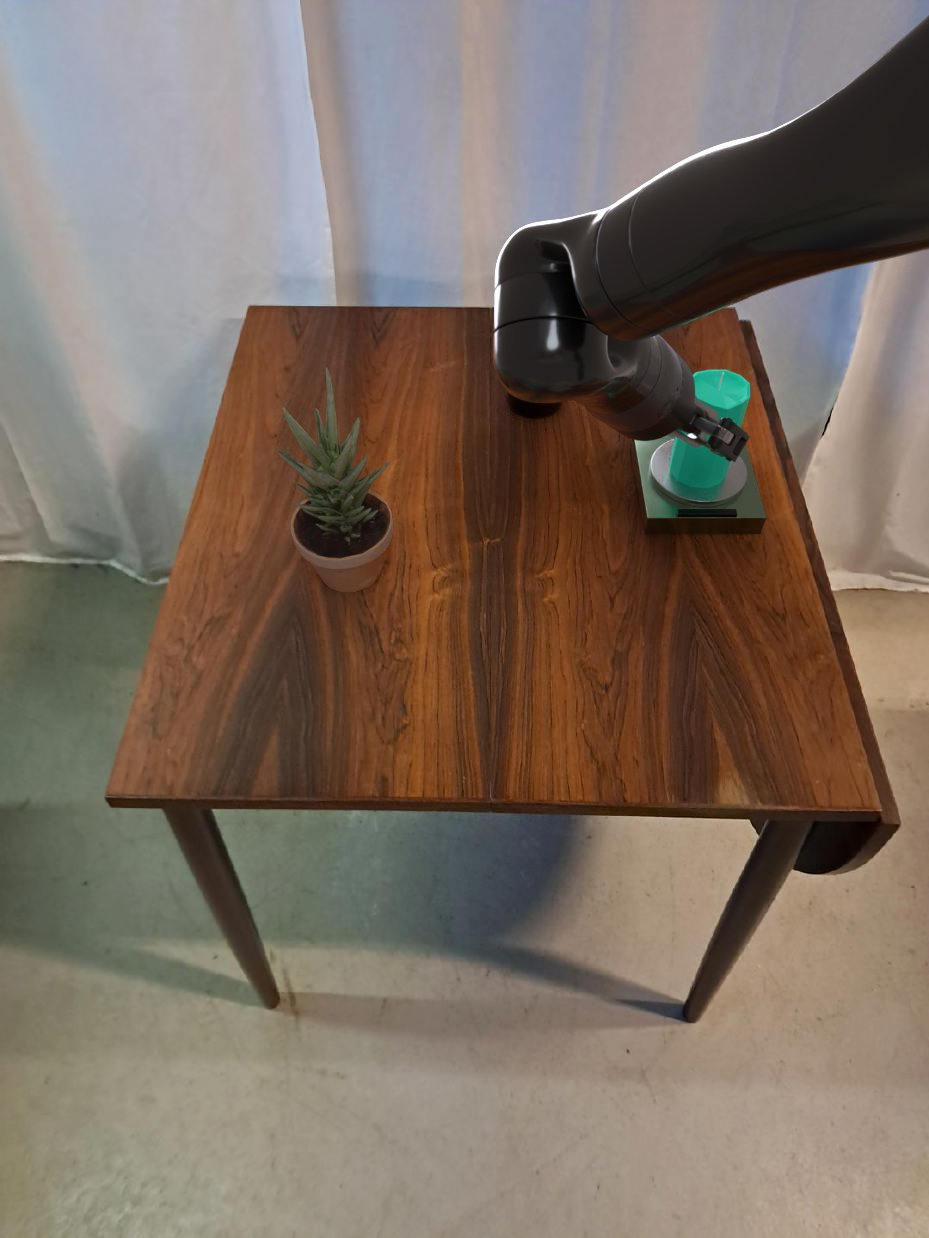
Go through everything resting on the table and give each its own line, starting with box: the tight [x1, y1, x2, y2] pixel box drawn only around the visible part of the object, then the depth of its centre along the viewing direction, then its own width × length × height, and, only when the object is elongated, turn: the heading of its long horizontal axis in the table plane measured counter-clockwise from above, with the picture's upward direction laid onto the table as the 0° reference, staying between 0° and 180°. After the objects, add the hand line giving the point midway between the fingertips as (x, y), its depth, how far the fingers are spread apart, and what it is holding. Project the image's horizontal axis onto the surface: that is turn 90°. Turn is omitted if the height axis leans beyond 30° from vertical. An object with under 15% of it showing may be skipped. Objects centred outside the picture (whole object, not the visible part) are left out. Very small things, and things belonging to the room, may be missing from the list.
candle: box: [670, 369, 751, 488], centre depth 88 cm, size 6×6×12 cm
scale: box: [630, 435, 767, 535], centre depth 94 cm, size 13×12×3 cm
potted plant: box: [277, 366, 395, 593], centre depth 79 cm, size 10×10×25 cm
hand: (686, 425), depth 83 cm, fingers open, 8 cm apart
